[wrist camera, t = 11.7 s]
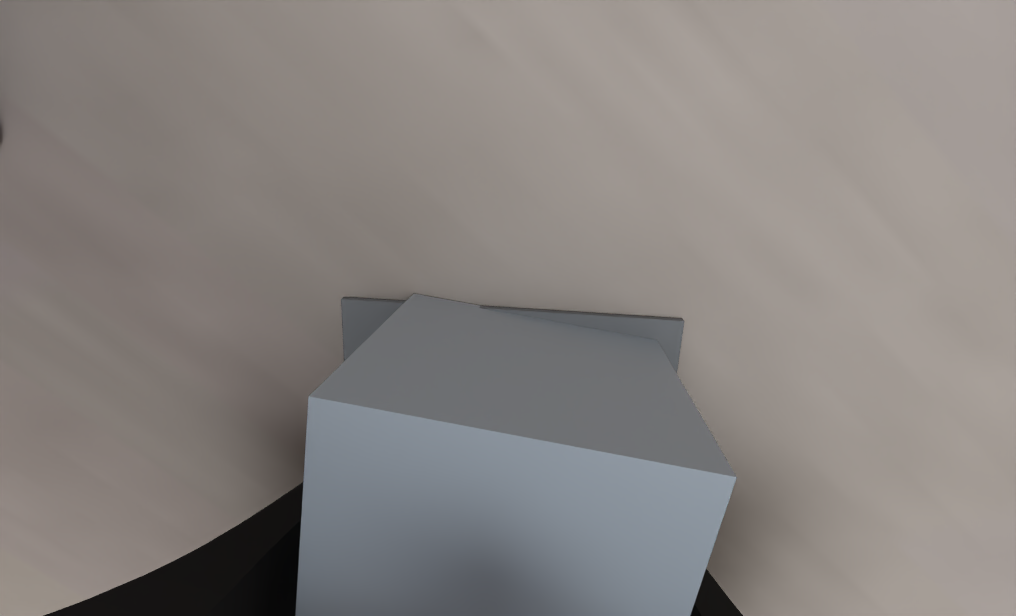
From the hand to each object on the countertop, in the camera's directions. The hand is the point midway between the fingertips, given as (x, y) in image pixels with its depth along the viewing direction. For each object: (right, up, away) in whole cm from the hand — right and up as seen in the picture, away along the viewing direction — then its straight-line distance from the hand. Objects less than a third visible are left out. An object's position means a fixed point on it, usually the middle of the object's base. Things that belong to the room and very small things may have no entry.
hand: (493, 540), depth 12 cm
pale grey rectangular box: (0, +1, +2) cm, 2 cm away
